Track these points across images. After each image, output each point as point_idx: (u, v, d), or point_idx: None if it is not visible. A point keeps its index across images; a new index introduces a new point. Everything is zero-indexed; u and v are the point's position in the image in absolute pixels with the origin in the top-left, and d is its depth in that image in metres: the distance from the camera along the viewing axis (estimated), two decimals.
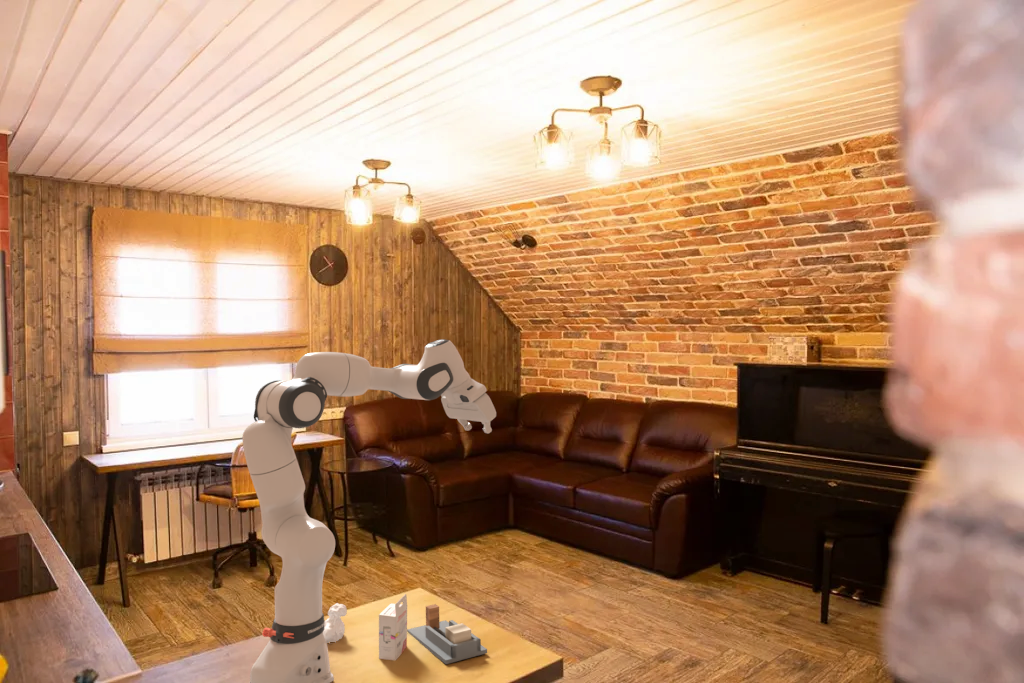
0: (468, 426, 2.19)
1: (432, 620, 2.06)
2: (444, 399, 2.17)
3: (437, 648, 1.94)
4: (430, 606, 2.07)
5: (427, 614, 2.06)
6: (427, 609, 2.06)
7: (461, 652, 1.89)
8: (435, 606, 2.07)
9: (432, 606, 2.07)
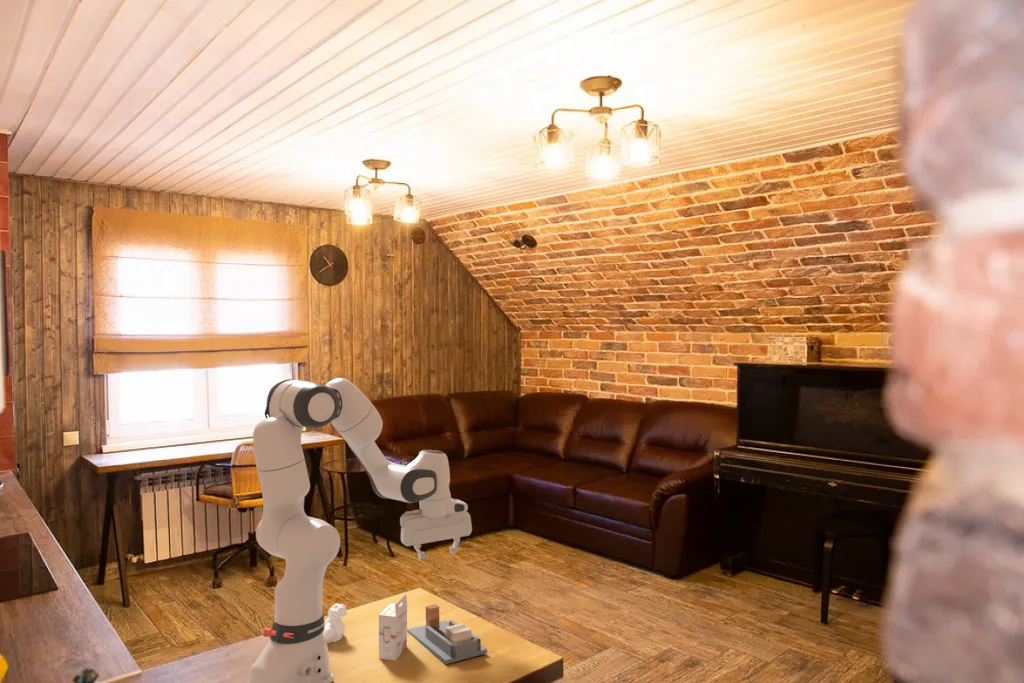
0: None
1: (432, 620, 2.06)
2: (413, 521, 2.03)
3: (437, 648, 1.94)
4: (430, 606, 2.07)
5: (427, 614, 2.06)
6: (427, 609, 2.06)
7: (461, 652, 1.89)
8: (435, 606, 2.07)
9: (432, 606, 2.07)
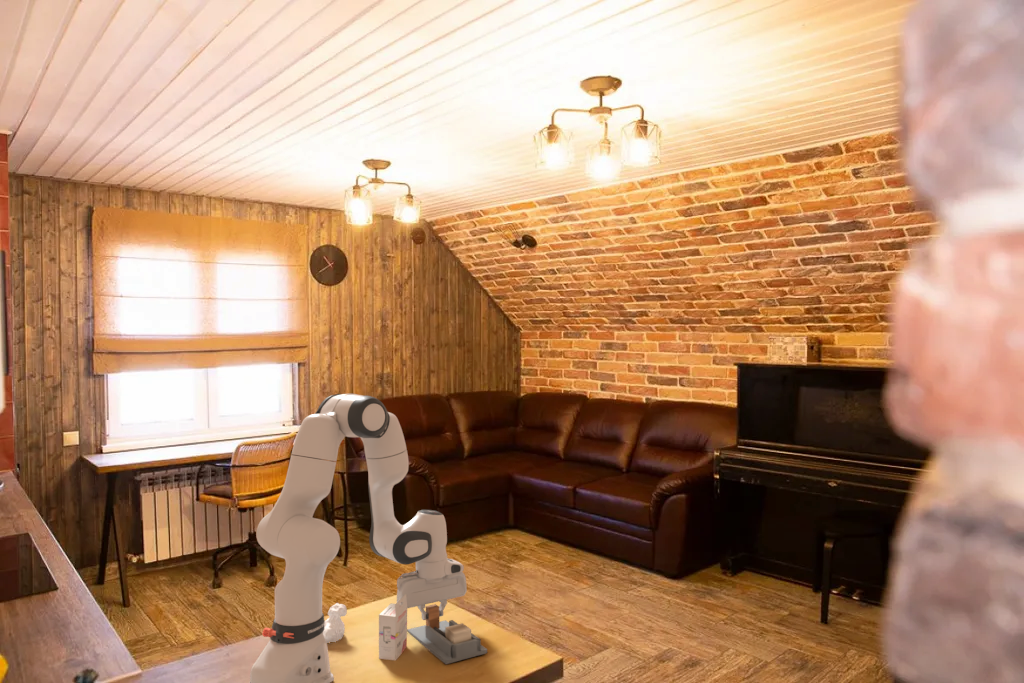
0: None
1: (432, 620, 2.06)
2: (410, 583, 2.02)
3: (437, 648, 1.94)
4: (430, 606, 2.07)
5: None
6: (427, 609, 2.06)
7: (461, 652, 1.89)
8: (435, 606, 2.07)
9: (432, 606, 2.07)
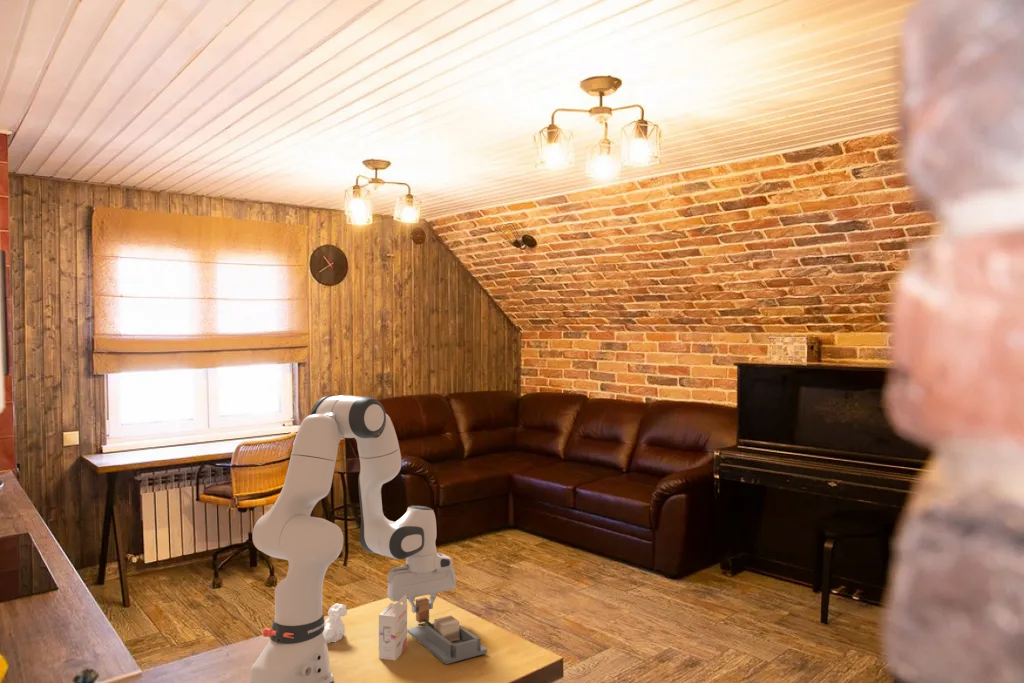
0: None
1: (422, 612, 2.11)
2: (401, 576, 2.07)
3: (437, 648, 1.94)
4: (420, 599, 2.13)
5: None
6: (417, 602, 2.12)
7: (461, 652, 1.89)
8: (425, 599, 2.13)
9: (422, 599, 2.13)
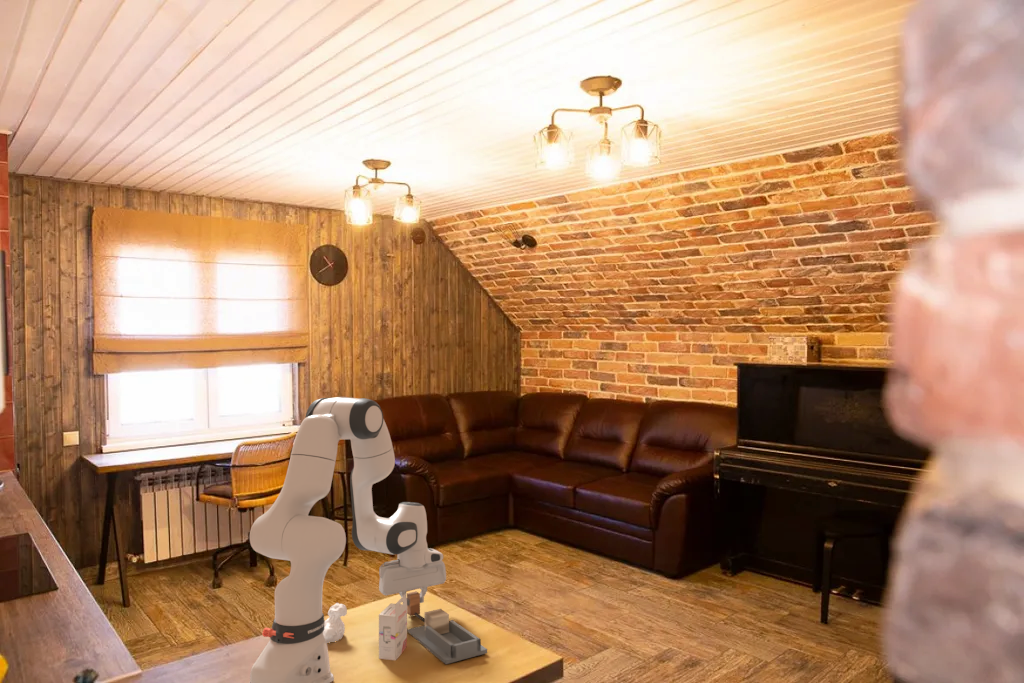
0: None
1: (413, 606, 2.17)
2: (392, 571, 2.13)
3: (437, 648, 1.94)
4: (411, 593, 2.18)
5: None
6: (408, 596, 2.17)
7: (461, 652, 1.89)
8: (416, 593, 2.18)
9: (413, 593, 2.18)
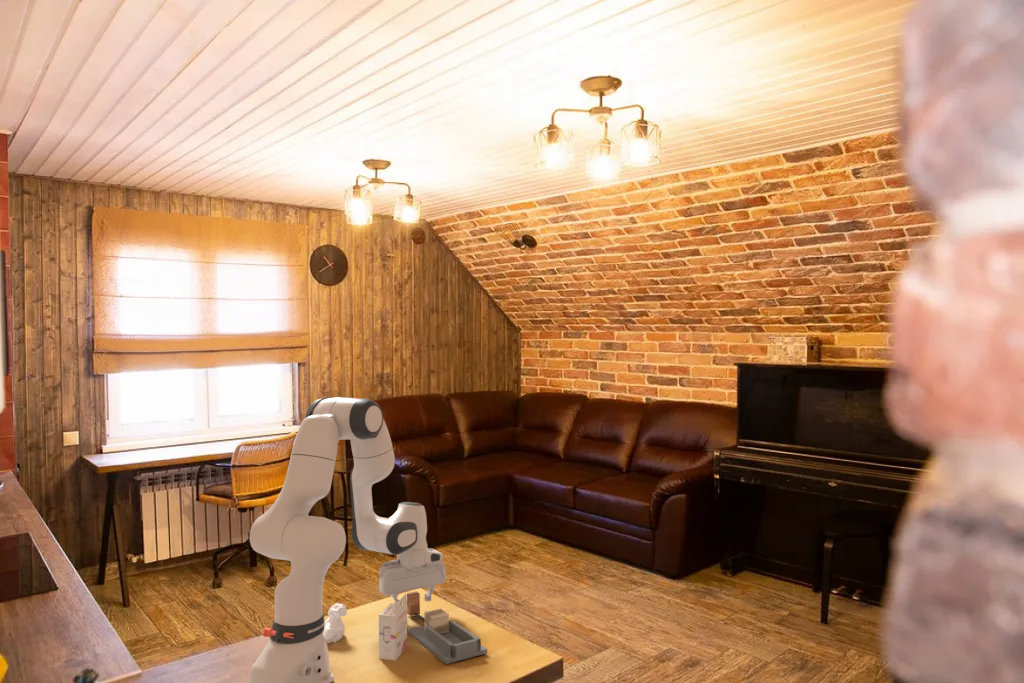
0: None
1: (413, 606, 2.17)
2: (392, 571, 2.13)
3: (437, 648, 1.94)
4: (411, 593, 2.18)
5: (408, 600, 2.17)
6: (408, 596, 2.17)
7: (461, 652, 1.89)
8: (416, 593, 2.18)
9: (413, 593, 2.18)
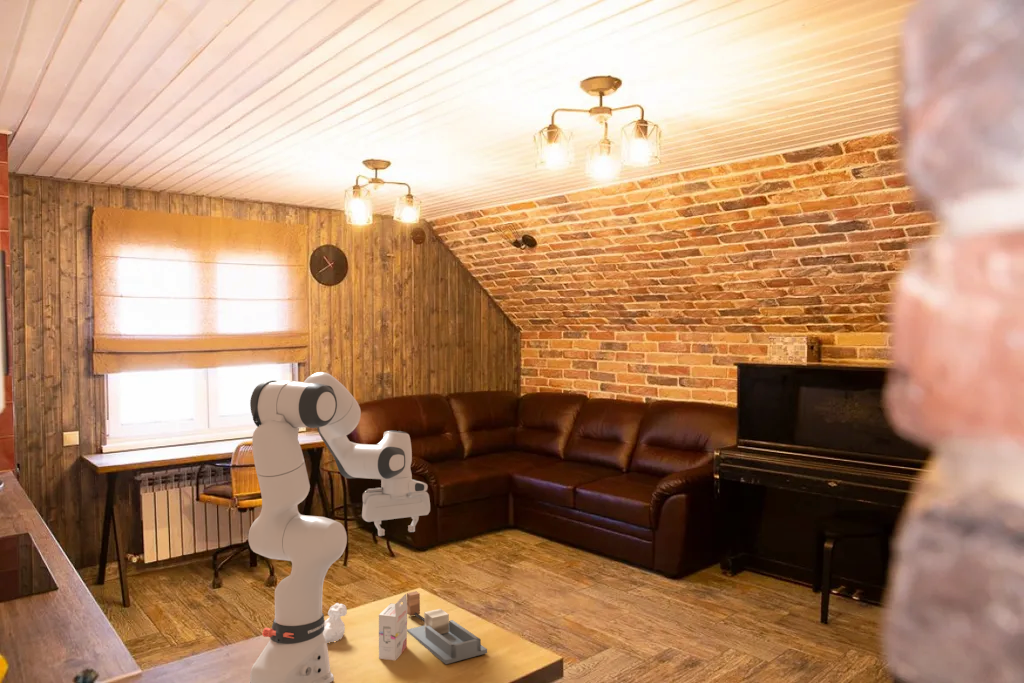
0: None
1: (413, 606, 2.17)
2: (375, 497, 2.12)
3: (437, 648, 1.94)
4: (411, 593, 2.18)
5: (408, 600, 2.17)
6: (408, 596, 2.17)
7: (461, 652, 1.89)
8: (416, 593, 2.18)
9: (413, 593, 2.18)
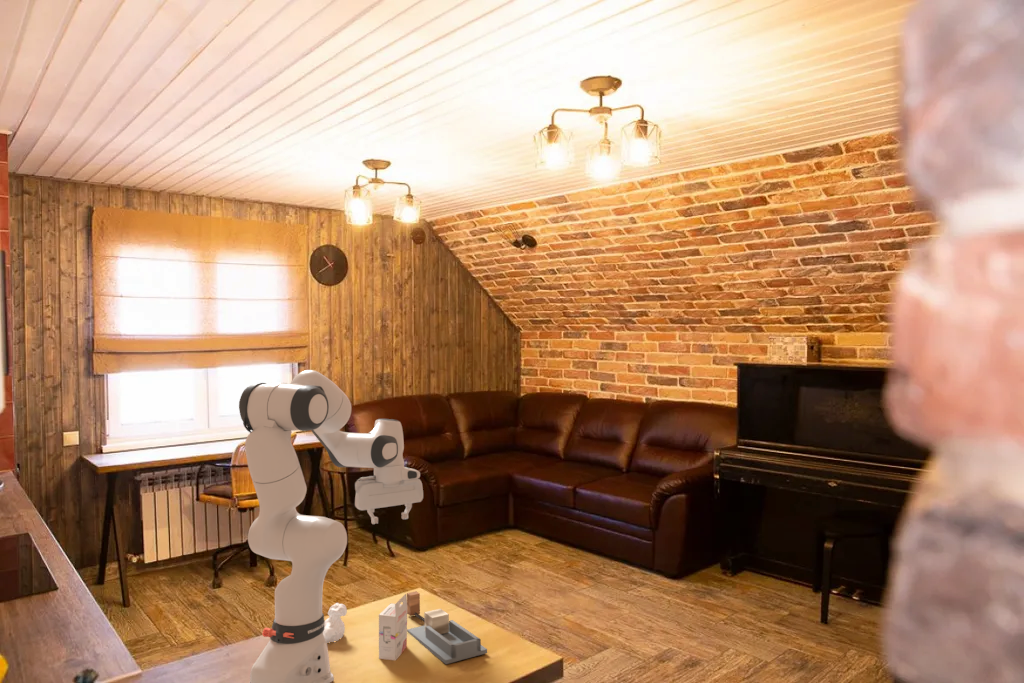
0: None
1: (413, 606, 2.17)
2: (368, 486, 2.11)
3: (437, 648, 1.94)
4: (411, 593, 2.18)
5: (408, 600, 2.17)
6: (408, 596, 2.17)
7: (461, 652, 1.89)
8: (416, 593, 2.18)
9: (413, 593, 2.18)
